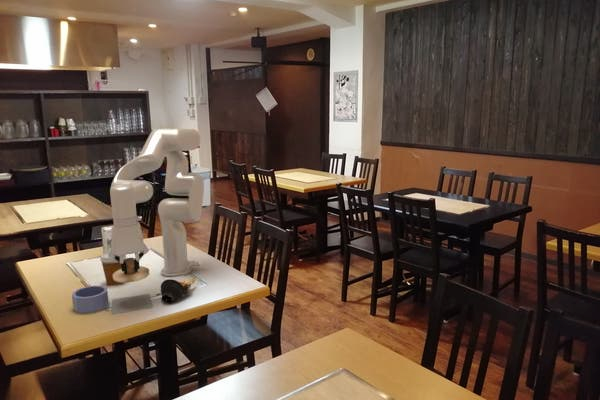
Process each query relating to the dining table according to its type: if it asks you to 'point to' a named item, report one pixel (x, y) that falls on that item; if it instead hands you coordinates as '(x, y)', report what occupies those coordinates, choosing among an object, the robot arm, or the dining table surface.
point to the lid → (130, 272)
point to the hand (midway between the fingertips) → (130, 271)
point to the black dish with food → (175, 289)
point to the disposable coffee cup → (110, 268)
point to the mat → (131, 303)
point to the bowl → (90, 299)
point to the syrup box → (106, 239)
